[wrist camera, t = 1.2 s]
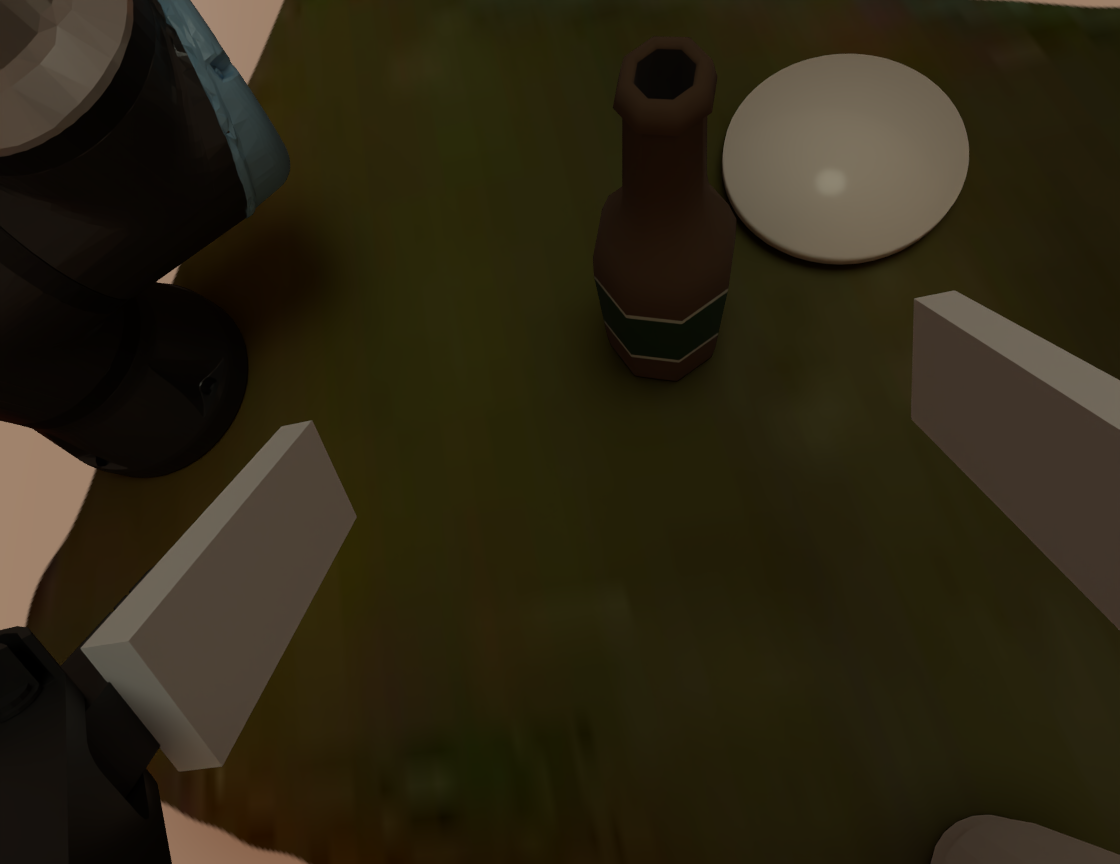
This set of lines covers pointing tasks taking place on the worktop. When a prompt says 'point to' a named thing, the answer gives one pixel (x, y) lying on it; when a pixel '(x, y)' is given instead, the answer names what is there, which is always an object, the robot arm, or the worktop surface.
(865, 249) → the dish
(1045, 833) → the cup
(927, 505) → the worktop surface
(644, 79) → the beer bottle
